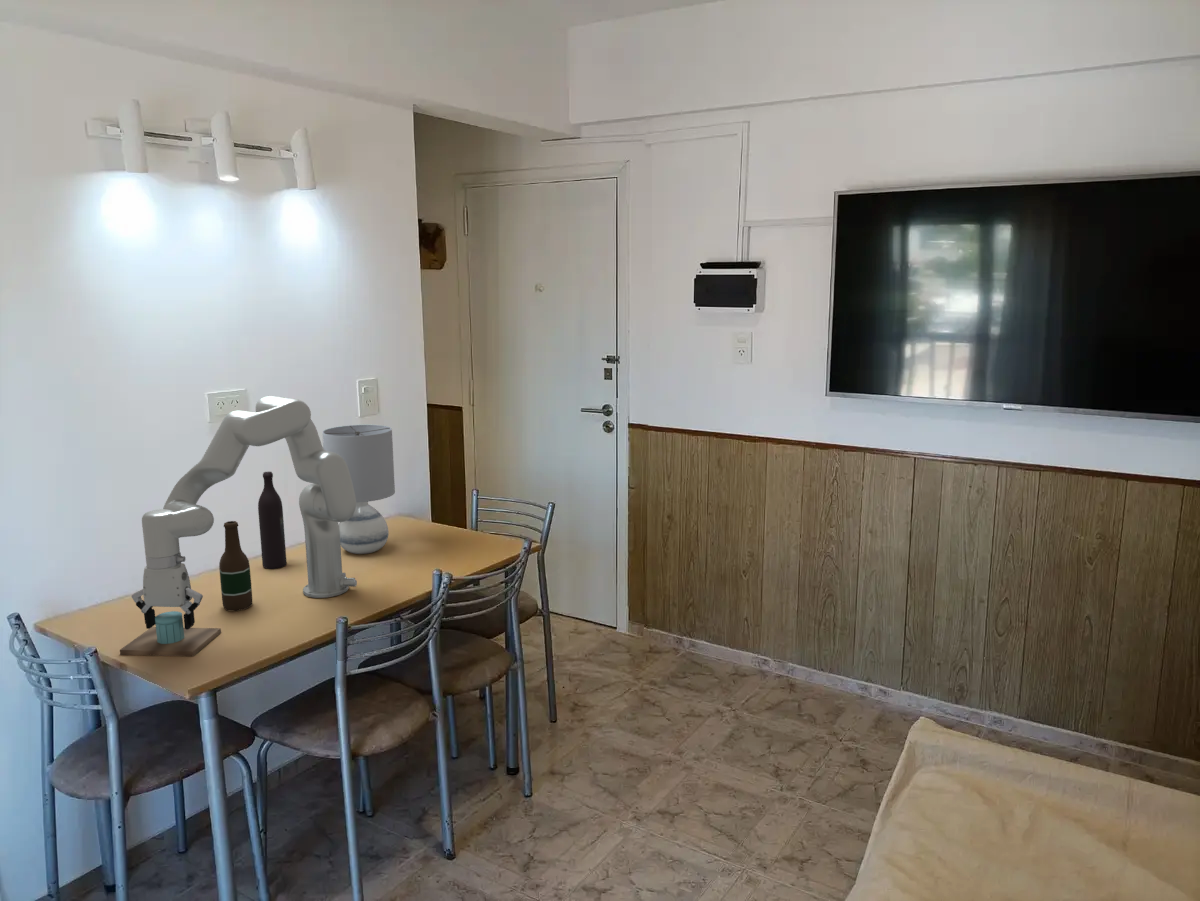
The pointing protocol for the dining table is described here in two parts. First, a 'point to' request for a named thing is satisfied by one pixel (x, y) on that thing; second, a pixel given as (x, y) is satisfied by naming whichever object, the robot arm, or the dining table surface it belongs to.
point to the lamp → (364, 481)
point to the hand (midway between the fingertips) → (170, 627)
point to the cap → (169, 627)
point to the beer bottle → (234, 572)
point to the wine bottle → (271, 525)
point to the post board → (185, 647)
